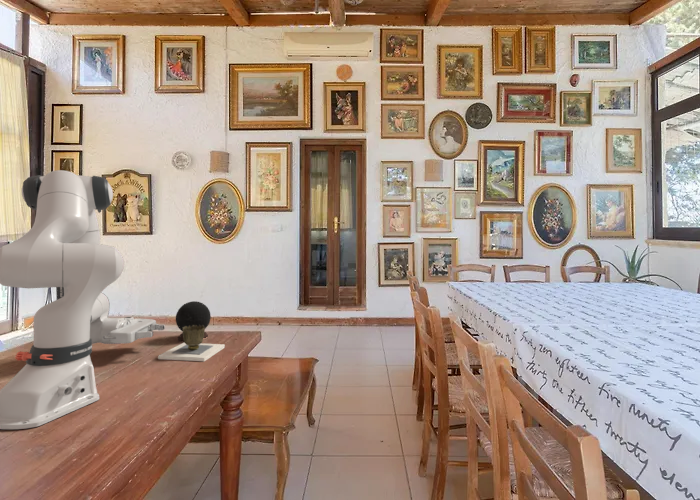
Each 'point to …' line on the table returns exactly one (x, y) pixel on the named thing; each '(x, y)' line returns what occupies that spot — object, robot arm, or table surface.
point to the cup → (193, 336)
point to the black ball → (192, 316)
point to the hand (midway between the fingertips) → (158, 330)
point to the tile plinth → (191, 352)
